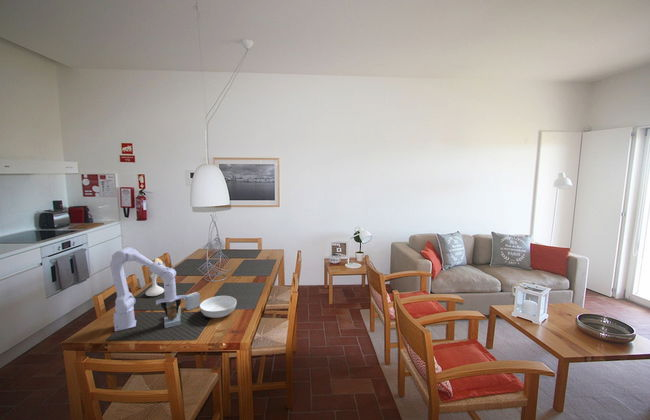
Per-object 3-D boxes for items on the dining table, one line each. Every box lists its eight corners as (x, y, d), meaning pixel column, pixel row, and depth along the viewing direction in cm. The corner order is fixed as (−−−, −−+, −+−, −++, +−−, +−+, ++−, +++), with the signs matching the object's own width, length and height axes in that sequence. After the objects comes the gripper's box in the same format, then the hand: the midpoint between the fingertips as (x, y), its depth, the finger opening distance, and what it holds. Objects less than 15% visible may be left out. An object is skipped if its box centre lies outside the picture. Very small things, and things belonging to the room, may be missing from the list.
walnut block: (167, 319, 164) (167, 310, 164) (167, 315, 168) (166, 306, 167) (176, 317, 167) (176, 308, 166) (176, 314, 170) (175, 304, 170)
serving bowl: (221, 325, 166) (221, 313, 165) (192, 318, 173) (191, 307, 172) (244, 308, 185) (243, 298, 184) (216, 303, 192) (216, 293, 191)
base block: (164, 329, 163) (164, 323, 162) (164, 322, 169) (164, 317, 169) (181, 325, 166) (180, 320, 166) (180, 318, 173) (179, 314, 173)
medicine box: (197, 304, 191) (196, 291, 190) (200, 306, 188) (199, 293, 187) (184, 308, 185) (184, 295, 184) (188, 310, 182) (187, 297, 181)
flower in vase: (154, 298, 198) (151, 262, 195) (141, 296, 202) (138, 261, 198) (170, 291, 210) (167, 257, 207) (157, 289, 214) (155, 255, 210)
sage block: (173, 318, 173) (172, 309, 172) (170, 316, 176) (169, 307, 175) (181, 315, 176) (180, 306, 176) (177, 313, 179) (177, 304, 178)
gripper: (155, 296, 158) (157, 319, 160) (185, 290, 165) (186, 313, 167) (155, 291, 164) (157, 314, 166) (184, 286, 171) (185, 308, 173)
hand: (171, 313), depth 167 cm, fingers closed on walnut block, 4 cm apart
